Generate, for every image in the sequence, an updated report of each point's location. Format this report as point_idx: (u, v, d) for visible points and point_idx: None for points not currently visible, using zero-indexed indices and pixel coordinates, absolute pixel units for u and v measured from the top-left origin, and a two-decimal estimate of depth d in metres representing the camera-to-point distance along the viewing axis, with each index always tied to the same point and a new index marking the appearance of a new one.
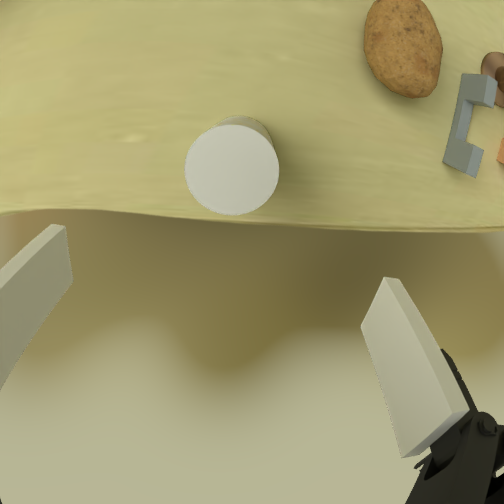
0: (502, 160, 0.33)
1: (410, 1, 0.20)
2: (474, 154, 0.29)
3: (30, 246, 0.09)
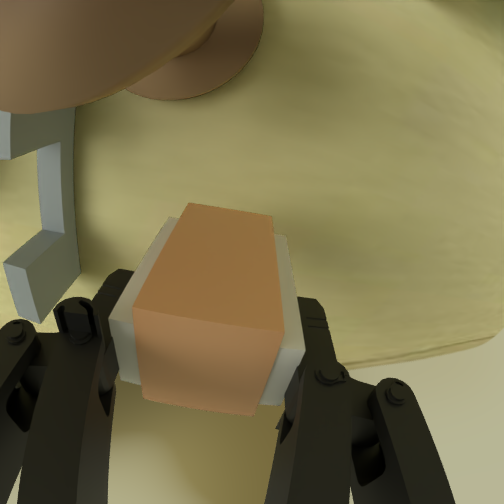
0: None
1: None
2: (12, 280, 0.13)
3: (162, 237, 0.11)
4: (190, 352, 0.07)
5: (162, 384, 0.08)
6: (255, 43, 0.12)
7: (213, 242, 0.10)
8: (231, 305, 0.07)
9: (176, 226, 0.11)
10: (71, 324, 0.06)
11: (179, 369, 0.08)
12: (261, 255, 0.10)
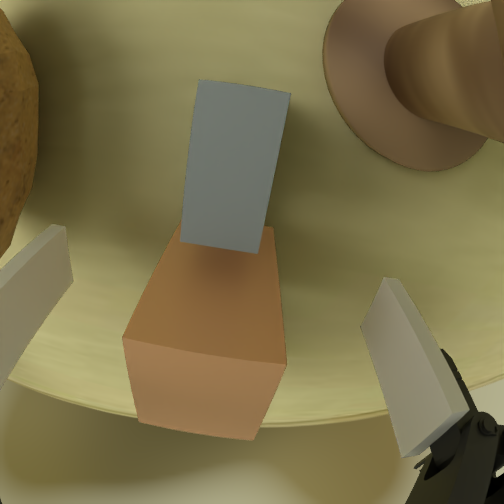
0: None
1: None
2: None
3: (30, 246, 0.09)
4: (185, 382, 0.07)
5: (158, 410, 0.07)
6: None
7: (210, 259, 0.09)
8: (228, 335, 0.07)
9: (171, 240, 0.10)
10: None
11: (175, 397, 0.07)
12: (262, 273, 0.09)
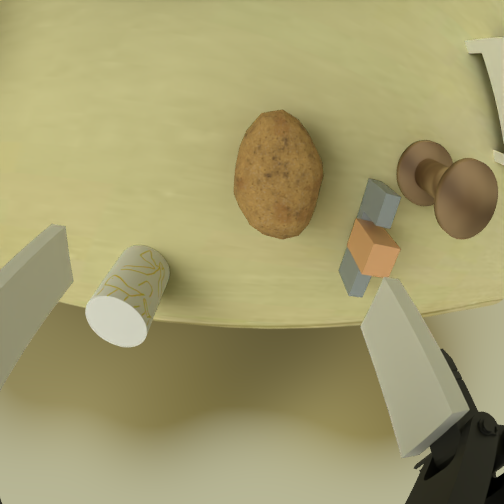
0: (350, 248, 0.38)
1: (276, 135, 0.27)
2: (359, 277, 0.36)
3: (30, 246, 0.09)
4: (381, 255, 0.32)
5: (370, 267, 0.32)
6: None
7: (374, 230, 0.34)
8: (389, 244, 0.32)
9: (362, 226, 0.35)
10: None
11: (376, 260, 0.32)
12: (386, 234, 0.34)
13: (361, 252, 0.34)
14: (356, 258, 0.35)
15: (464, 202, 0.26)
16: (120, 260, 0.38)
